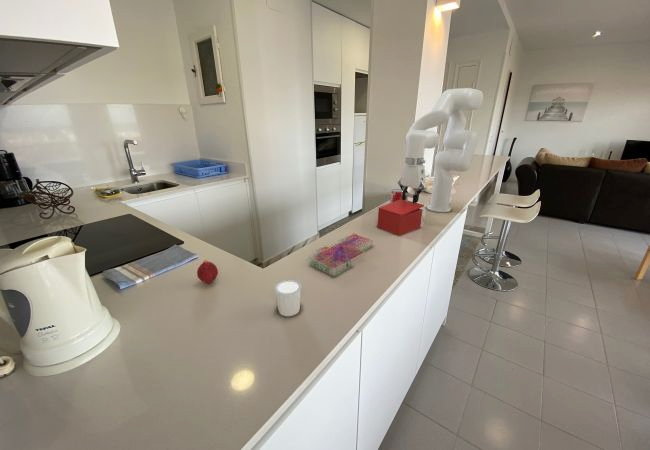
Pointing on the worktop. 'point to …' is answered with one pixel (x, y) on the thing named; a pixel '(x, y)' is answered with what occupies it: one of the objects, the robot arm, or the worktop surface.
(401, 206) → the lid
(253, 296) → the worktop surface
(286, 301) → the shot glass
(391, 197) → the soda can
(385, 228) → the red box
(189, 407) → the worktop surface
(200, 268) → the onion
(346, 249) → the confetti patterned tile
